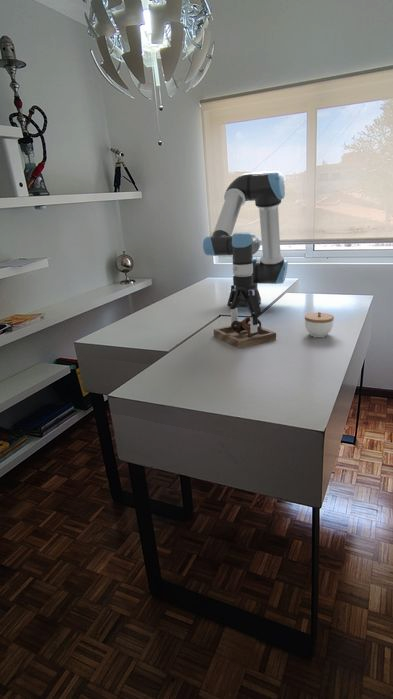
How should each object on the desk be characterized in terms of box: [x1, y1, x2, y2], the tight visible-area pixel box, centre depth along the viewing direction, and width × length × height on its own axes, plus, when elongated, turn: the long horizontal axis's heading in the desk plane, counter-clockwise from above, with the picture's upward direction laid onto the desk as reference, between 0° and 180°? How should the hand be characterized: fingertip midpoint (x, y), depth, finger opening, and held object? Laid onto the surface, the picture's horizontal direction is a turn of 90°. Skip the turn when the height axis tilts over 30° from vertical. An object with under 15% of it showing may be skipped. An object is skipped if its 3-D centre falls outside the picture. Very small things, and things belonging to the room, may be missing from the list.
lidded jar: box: [304, 311, 335, 338], centre depth 163 cm, size 11×11×9 cm
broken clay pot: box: [230, 316, 262, 338], centre depth 166 cm, size 12×10×8 cm
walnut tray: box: [213, 322, 277, 350], centre depth 166 cm, size 19×17×3 cm
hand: (243, 328), depth 166 cm, fingers open, 13 cm apart
